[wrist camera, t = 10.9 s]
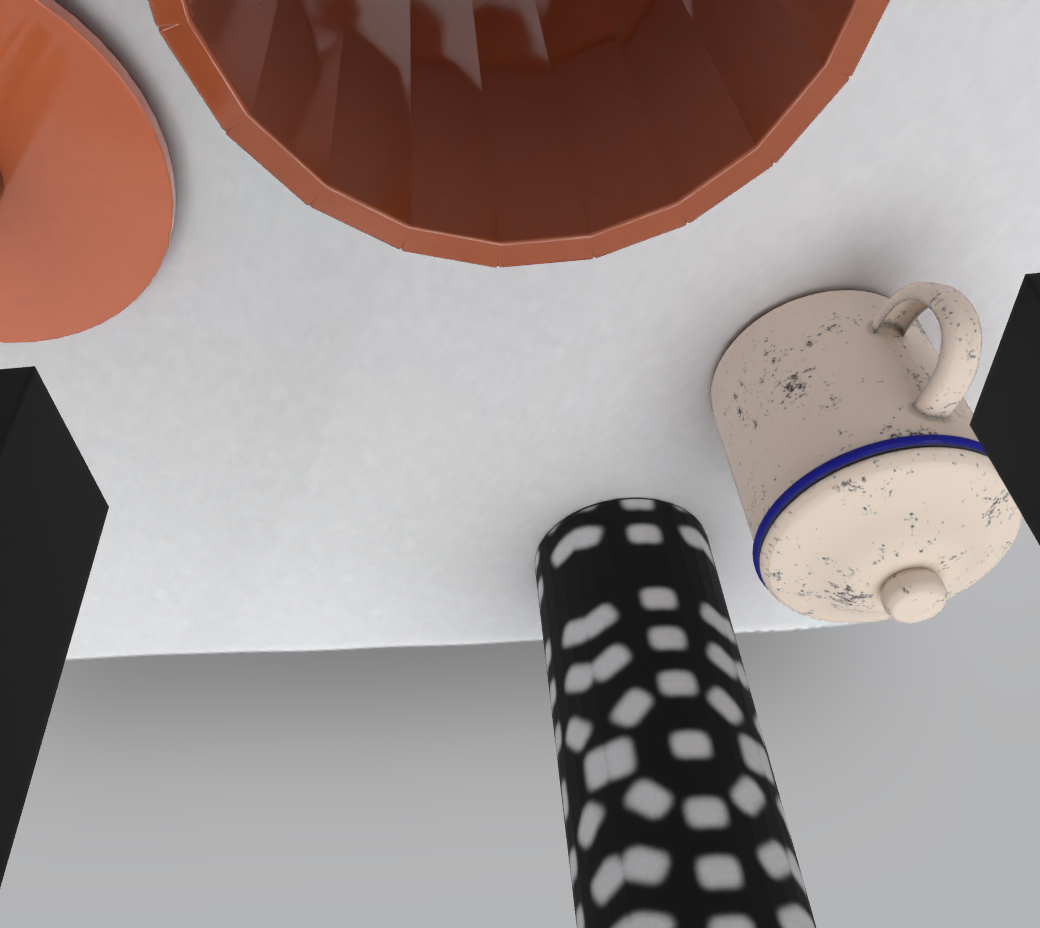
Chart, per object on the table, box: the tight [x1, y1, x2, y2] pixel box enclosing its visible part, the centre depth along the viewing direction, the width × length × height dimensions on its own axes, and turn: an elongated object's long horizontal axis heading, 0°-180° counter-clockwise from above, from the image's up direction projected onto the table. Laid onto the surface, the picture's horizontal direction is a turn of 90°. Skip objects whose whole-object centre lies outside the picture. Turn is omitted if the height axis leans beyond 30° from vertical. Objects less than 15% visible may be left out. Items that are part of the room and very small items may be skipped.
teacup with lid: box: [711, 282, 1023, 623], centre depth 35 cm, size 12×9×12 cm
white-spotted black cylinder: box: [535, 499, 816, 928], centre depth 40 cm, size 8×8×20 cm
